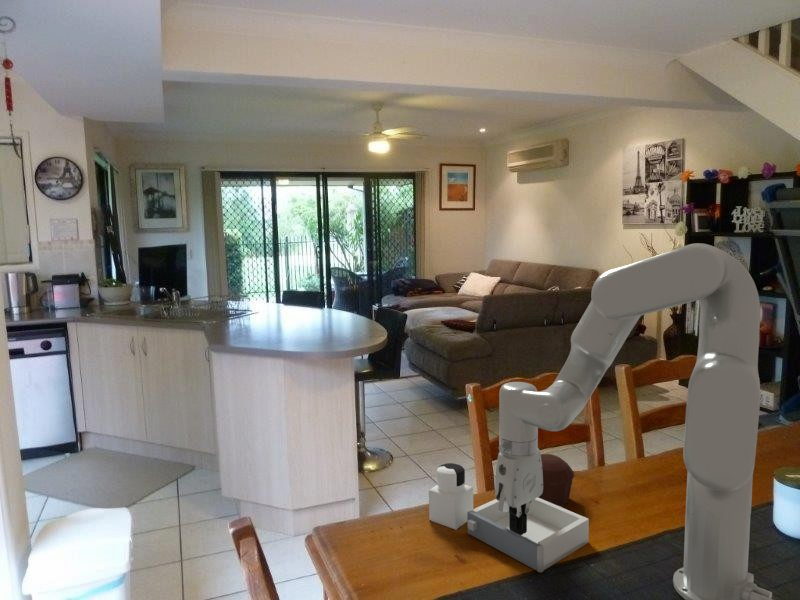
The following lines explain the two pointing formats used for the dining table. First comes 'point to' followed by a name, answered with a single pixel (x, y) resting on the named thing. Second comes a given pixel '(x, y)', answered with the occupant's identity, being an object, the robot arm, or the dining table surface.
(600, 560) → the dining table surface
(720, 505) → the robot arm
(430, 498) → the medicine bottle
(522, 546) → the side door
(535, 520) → the case
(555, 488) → the muffin
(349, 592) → the dining table surface
